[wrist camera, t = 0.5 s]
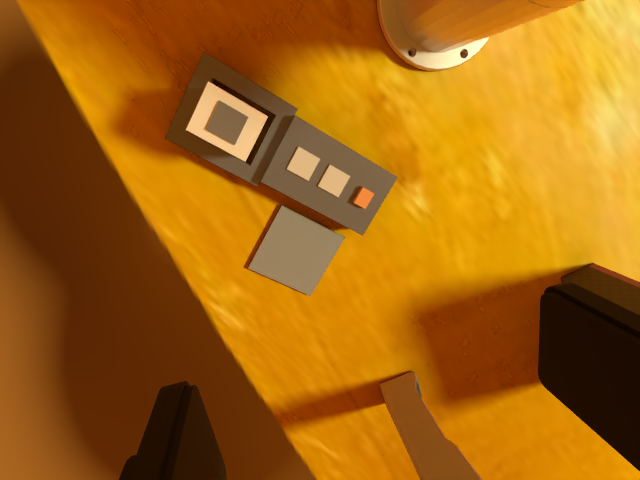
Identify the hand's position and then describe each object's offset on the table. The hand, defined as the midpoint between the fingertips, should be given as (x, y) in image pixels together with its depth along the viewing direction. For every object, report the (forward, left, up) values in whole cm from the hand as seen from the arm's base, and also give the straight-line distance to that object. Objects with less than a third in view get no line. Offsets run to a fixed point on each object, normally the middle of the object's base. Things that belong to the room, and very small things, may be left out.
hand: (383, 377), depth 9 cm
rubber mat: (+6, +4, -31) cm, 32 cm away
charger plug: (-3, -8, -31) cm, 32 cm away
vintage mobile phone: (+17, +26, -31) cm, 44 cm away
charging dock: (-3, -2, -31) cm, 31 cm away
